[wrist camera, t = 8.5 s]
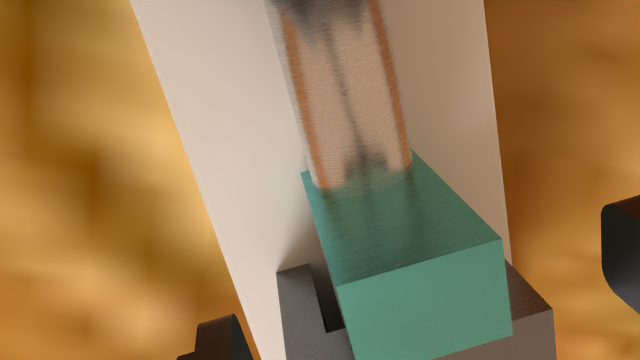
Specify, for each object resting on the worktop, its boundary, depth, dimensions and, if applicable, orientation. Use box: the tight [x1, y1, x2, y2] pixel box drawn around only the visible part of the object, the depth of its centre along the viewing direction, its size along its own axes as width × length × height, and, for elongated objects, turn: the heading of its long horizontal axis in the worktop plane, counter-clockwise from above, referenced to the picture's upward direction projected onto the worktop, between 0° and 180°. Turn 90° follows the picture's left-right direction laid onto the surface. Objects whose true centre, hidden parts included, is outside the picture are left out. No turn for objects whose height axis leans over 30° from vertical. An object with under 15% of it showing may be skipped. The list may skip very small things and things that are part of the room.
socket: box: [276, 258, 557, 360], centre depth 17 cm, size 5×7×6 cm
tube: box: [263, 0, 513, 360], centre depth 13 cm, size 14×4×7 cm, turn 14°
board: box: [130, 0, 513, 360], centre depth 14 cm, size 22×10×6 cm, turn 14°
